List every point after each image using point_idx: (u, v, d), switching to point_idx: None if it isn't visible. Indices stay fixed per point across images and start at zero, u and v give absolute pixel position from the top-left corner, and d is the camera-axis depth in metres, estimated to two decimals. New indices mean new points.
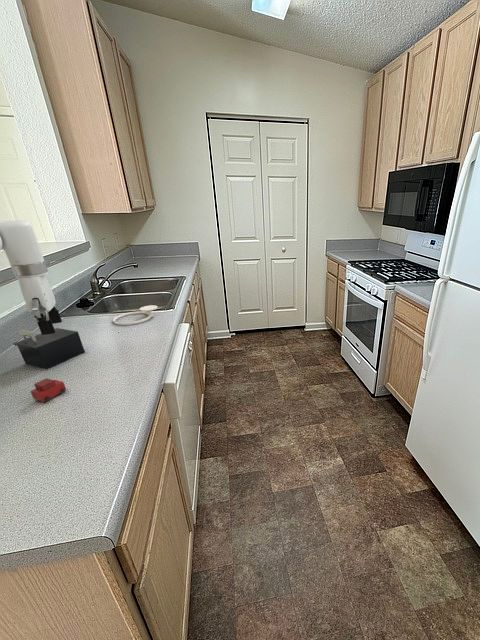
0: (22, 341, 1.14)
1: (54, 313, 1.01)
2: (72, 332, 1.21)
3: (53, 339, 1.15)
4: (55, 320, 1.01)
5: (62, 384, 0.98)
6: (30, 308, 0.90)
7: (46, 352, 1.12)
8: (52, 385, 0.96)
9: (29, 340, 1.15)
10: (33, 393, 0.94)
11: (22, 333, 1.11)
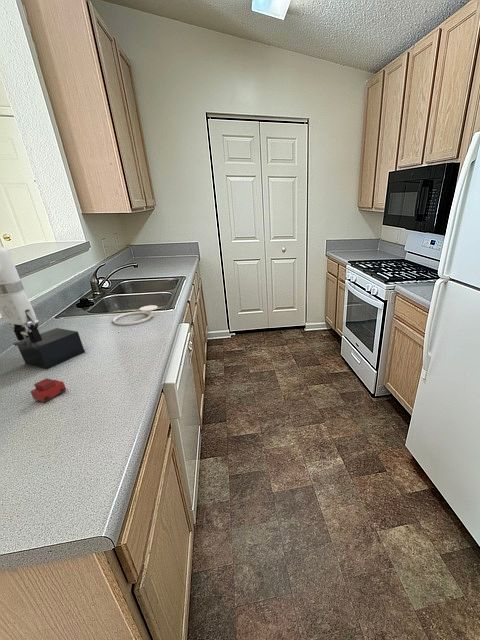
0: (22, 341, 1.14)
1: None
2: (72, 332, 1.21)
3: (53, 339, 1.15)
4: None
5: (62, 384, 0.98)
6: (24, 319, 1.05)
7: (46, 352, 1.12)
8: (52, 385, 0.96)
9: (29, 340, 1.15)
10: (33, 393, 0.94)
11: (22, 333, 1.11)
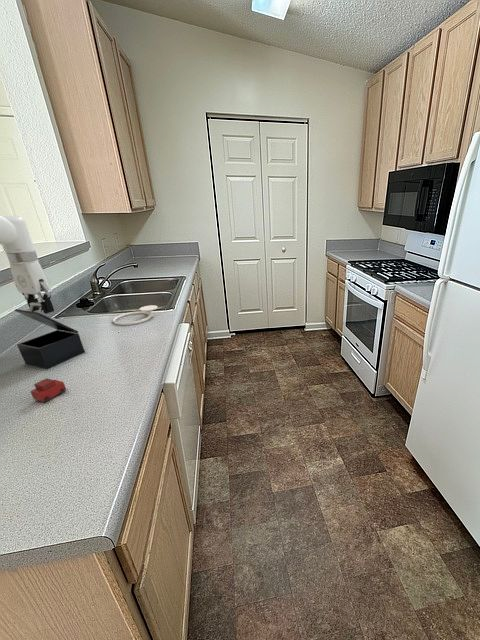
0: None
1: (35, 301, 1.15)
2: None
3: (55, 321, 1.15)
4: (36, 307, 1.15)
5: (62, 384, 0.98)
6: (37, 288, 1.08)
7: (46, 352, 1.12)
8: (52, 385, 0.96)
9: None
10: (33, 393, 0.94)
11: (33, 302, 1.13)
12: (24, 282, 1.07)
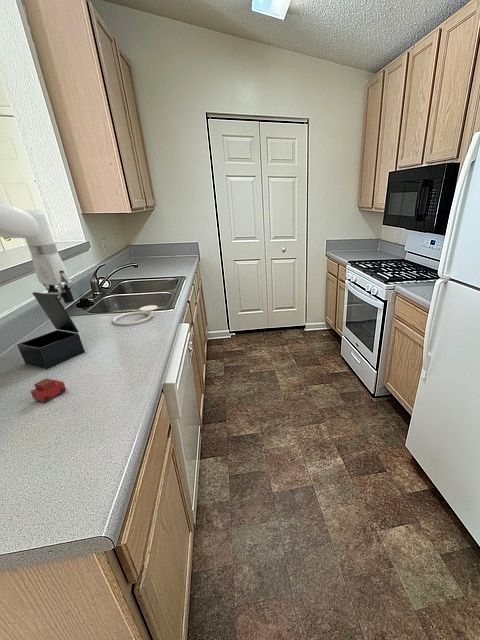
0: None
1: (56, 291, 1.20)
2: None
3: None
4: None
5: (62, 384, 0.98)
6: (58, 279, 1.13)
7: (46, 352, 1.12)
8: (52, 385, 0.96)
9: None
10: (33, 393, 0.94)
11: (54, 292, 1.18)
12: (46, 274, 1.13)
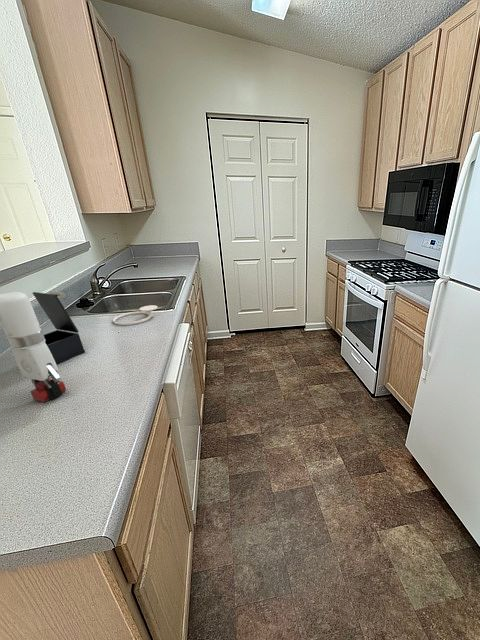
0: None
1: None
2: None
3: None
4: None
5: (62, 384, 0.98)
6: (45, 375, 0.91)
7: None
8: None
9: None
10: (33, 393, 0.94)
11: (54, 292, 1.18)
12: (29, 367, 0.90)
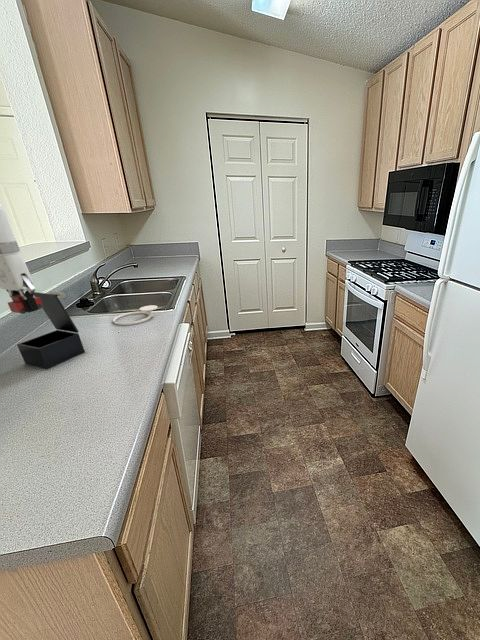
0: None
1: None
2: None
3: None
4: None
5: (38, 299, 1.03)
6: (19, 284, 0.96)
7: (46, 352, 1.12)
8: None
9: None
10: (10, 304, 0.99)
11: (54, 292, 1.18)
12: (4, 277, 0.95)
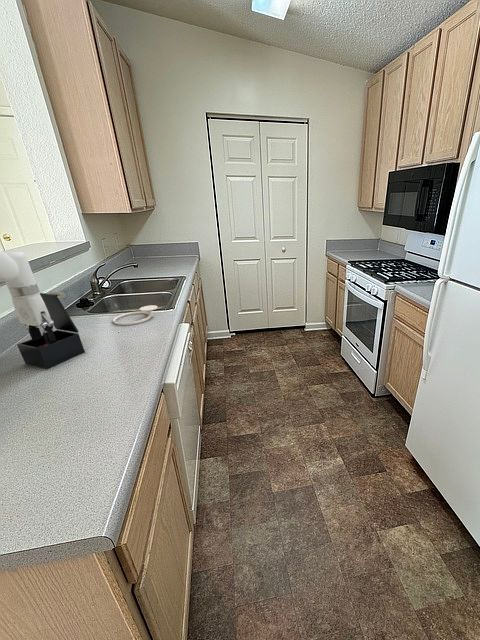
0: None
1: (37, 330, 1.17)
2: None
3: None
4: (38, 337, 1.17)
5: None
6: (39, 321, 1.09)
7: (46, 352, 1.12)
8: None
9: None
10: None
11: (54, 292, 1.18)
12: (26, 314, 1.09)
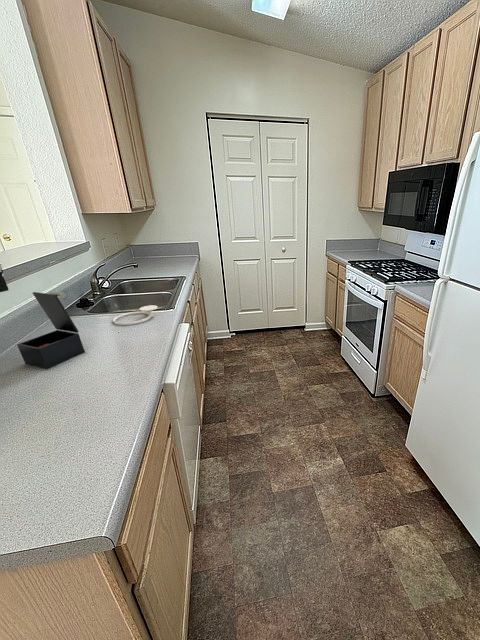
0: None
1: None
2: None
3: None
4: None
5: None
6: None
7: (46, 352, 1.12)
8: None
9: None
10: None
11: (54, 292, 1.18)
12: None
